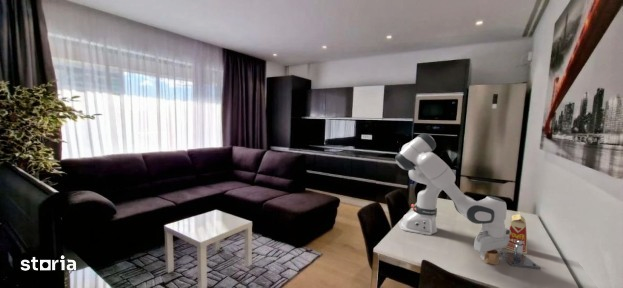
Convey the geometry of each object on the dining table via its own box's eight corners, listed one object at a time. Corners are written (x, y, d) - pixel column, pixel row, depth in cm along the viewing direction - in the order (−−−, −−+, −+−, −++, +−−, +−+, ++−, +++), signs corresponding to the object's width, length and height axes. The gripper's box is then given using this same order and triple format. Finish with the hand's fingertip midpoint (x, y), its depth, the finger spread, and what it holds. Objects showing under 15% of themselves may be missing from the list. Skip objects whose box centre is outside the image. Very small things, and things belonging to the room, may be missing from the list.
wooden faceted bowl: (485, 263, 118) (486, 253, 118) (477, 255, 125) (478, 246, 125) (501, 265, 118) (502, 255, 117) (493, 257, 124) (494, 247, 124)
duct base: (511, 265, 117) (513, 245, 116) (496, 252, 129) (498, 234, 128) (539, 269, 116) (542, 248, 115) (522, 255, 128) (524, 236, 127)
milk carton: (504, 243, 141) (508, 208, 139) (526, 248, 135) (530, 213, 133) (504, 249, 134) (508, 213, 132) (526, 255, 128) (531, 217, 126)
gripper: (484, 235, 113) (481, 264, 115) (513, 230, 121) (509, 257, 122) (471, 229, 119) (468, 257, 120) (499, 225, 127) (496, 250, 128)
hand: (489, 257), depth 121 cm, fingers open, 8 cm apart
